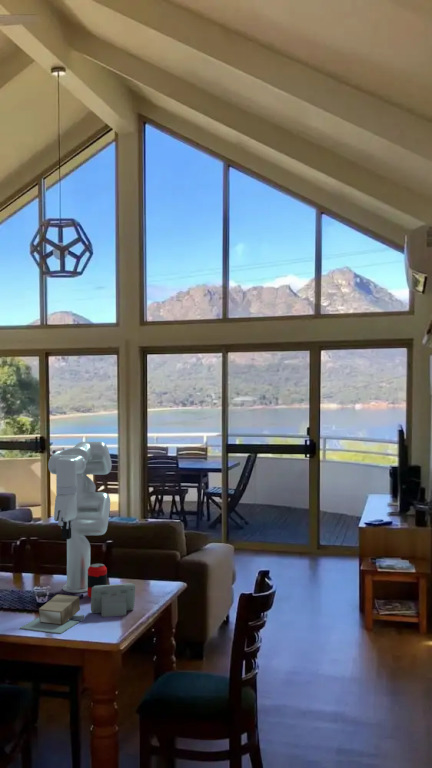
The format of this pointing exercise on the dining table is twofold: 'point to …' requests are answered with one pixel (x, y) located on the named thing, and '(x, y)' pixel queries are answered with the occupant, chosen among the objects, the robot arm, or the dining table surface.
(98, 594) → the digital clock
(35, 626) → the mat
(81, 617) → the rail
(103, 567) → the soda can
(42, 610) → the block
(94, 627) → the dining table surface
